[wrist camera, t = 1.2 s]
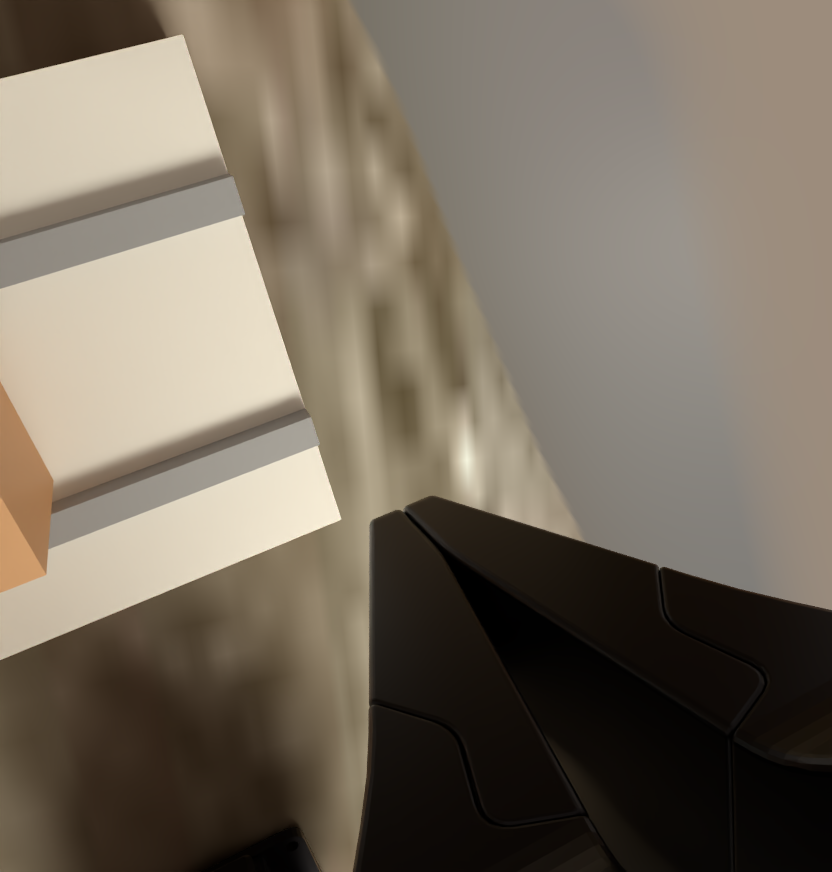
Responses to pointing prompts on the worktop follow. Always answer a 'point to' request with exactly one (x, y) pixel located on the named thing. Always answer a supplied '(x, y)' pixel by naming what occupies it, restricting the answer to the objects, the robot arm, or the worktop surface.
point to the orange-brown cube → (22, 502)
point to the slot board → (140, 343)
